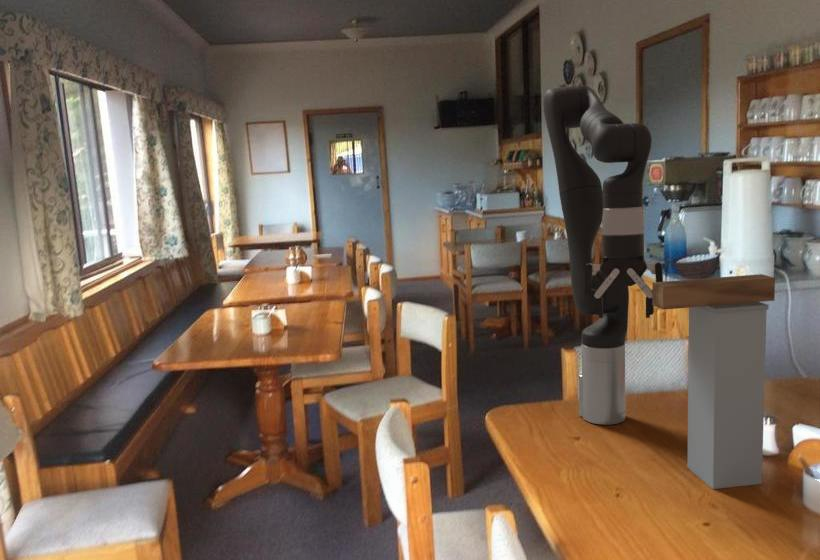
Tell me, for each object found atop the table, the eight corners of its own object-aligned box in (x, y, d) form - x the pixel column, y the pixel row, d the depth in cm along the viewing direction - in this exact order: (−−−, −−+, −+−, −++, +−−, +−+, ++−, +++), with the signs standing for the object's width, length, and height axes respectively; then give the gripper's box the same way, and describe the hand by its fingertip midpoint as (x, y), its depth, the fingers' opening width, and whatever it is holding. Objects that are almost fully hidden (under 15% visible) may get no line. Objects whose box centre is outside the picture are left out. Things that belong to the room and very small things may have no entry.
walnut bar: (652, 305, 125) (652, 282, 124) (760, 296, 127) (761, 274, 126) (662, 309, 121) (663, 286, 120) (774, 300, 123) (775, 277, 122)
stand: (685, 467, 133) (687, 298, 128) (733, 462, 134) (737, 294, 129) (712, 489, 124) (715, 309, 119) (763, 484, 125) (768, 304, 120)
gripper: (662, 229, 136) (663, 314, 138) (585, 232, 140) (586, 314, 142) (663, 231, 129) (664, 321, 130) (582, 234, 133) (584, 320, 135)
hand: (624, 317), depth 136 cm, fingers open, 8 cm apart
